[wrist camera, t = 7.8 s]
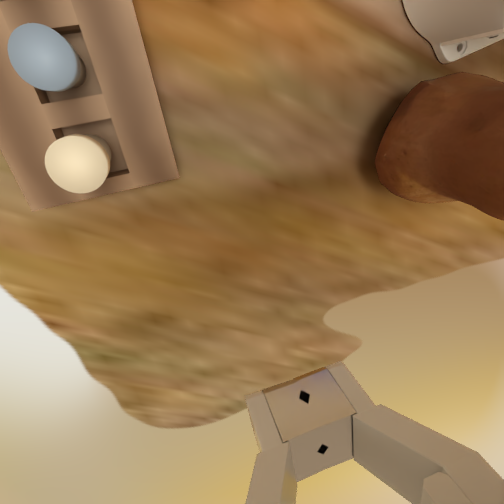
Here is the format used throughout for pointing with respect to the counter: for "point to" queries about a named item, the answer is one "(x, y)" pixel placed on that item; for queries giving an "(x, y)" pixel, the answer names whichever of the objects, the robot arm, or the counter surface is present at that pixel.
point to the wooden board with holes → (84, 100)
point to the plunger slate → (45, 58)
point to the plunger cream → (78, 162)
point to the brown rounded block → (447, 143)
